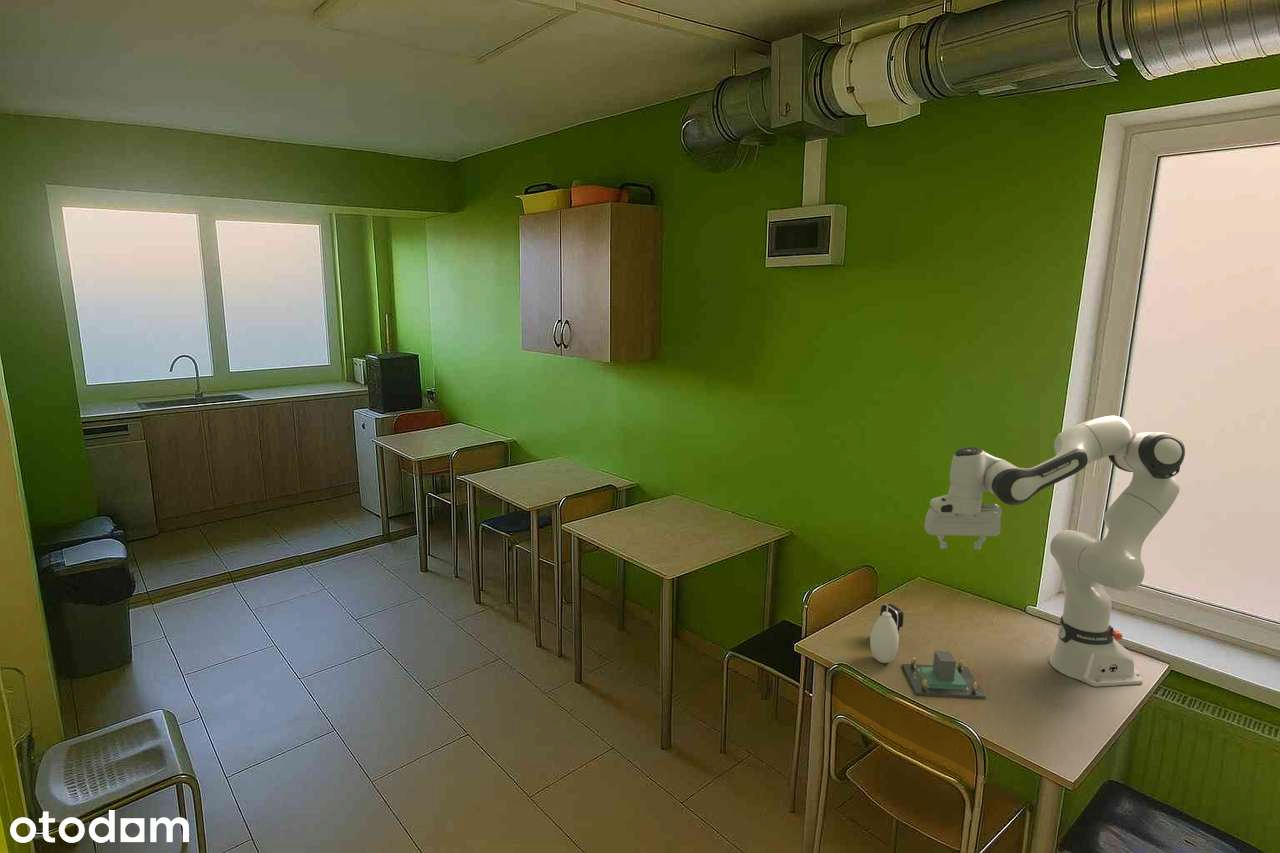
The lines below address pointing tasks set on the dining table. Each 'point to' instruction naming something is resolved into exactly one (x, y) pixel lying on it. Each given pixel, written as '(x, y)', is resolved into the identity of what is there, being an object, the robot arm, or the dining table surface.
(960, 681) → the board
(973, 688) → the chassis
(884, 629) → the white air blower bulb
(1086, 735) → the dining table surface
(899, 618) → the battery charger
